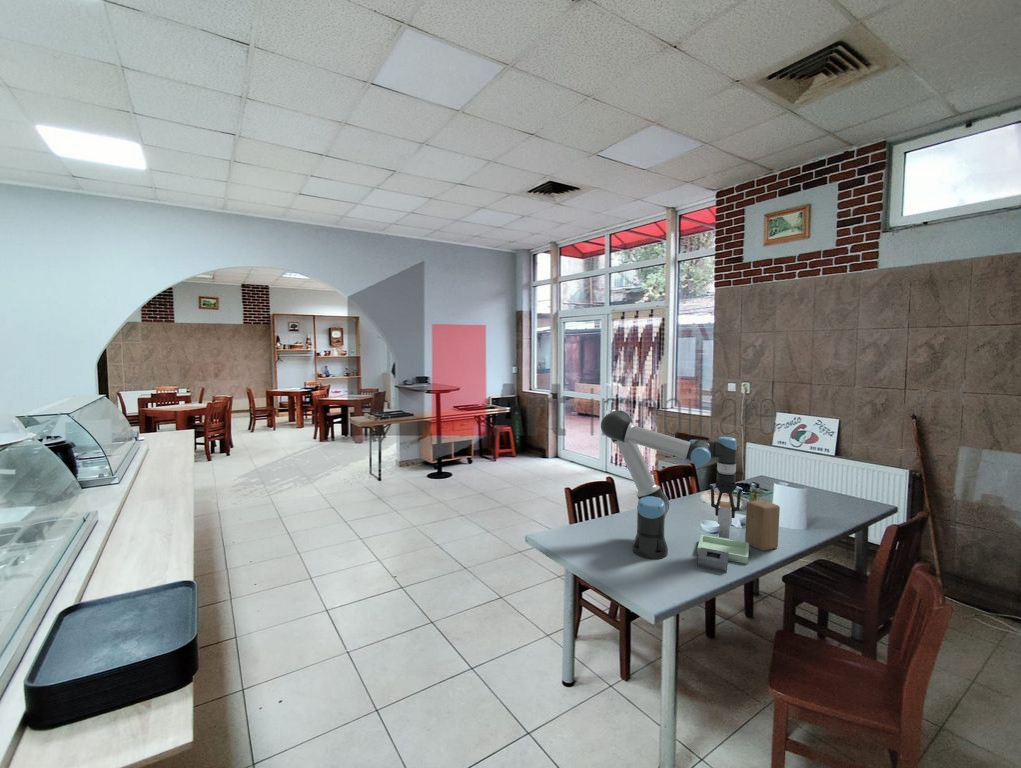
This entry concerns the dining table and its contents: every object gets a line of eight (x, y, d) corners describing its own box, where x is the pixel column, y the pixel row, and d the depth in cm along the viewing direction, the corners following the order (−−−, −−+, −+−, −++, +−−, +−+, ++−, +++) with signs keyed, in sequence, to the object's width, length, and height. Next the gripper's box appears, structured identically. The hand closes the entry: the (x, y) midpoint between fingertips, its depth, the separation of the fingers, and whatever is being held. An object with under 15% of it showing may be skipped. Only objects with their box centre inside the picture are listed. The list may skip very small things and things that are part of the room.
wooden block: (744, 543, 218) (745, 501, 216) (760, 539, 221) (761, 498, 220) (762, 551, 208) (764, 508, 207) (778, 548, 212) (780, 505, 210)
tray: (697, 554, 206) (697, 547, 206) (701, 540, 220) (701, 534, 220) (748, 564, 197) (748, 557, 197) (748, 549, 211) (748, 542, 211)
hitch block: (697, 566, 195) (697, 557, 194) (700, 556, 204) (700, 547, 204) (726, 572, 189) (727, 563, 189) (728, 561, 199) (728, 552, 199)
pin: (718, 537, 207) (719, 504, 206) (719, 533, 211) (720, 500, 210) (729, 539, 205) (730, 505, 204) (730, 535, 209) (731, 502, 208)
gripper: (704, 471, 206) (703, 523, 208) (747, 476, 198) (745, 530, 200) (706, 468, 213) (704, 517, 215) (748, 472, 205) (746, 524, 207)
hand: (724, 523), depth 207 cm, fingers closed on pin, 4 cm apart
